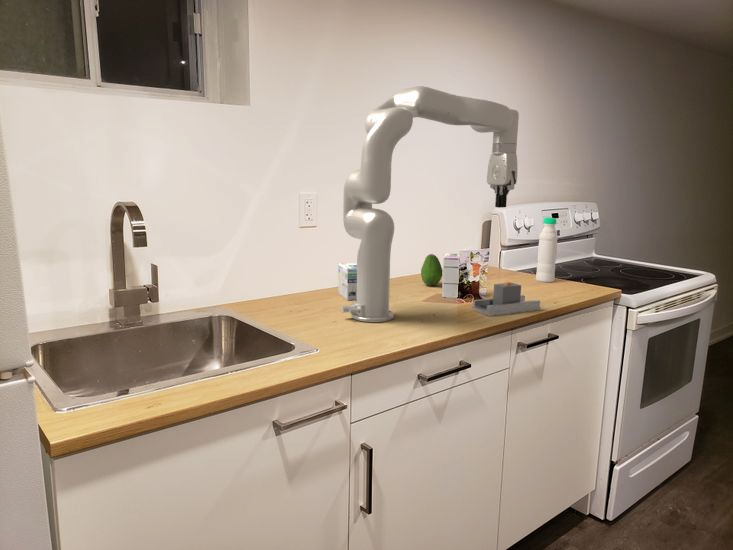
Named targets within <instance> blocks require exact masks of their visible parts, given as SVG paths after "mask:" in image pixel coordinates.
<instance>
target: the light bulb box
mask: <svg viewBox="0 0 733 550" xmlns="http://www.w3.org/2000/svg"><path fill="white" fill-rule="evenodd" d="M337 266H338V269H337V270H338V273H337V274H338V276H337V277H338V283H337V284H338V285H337V287H338V289H337V294H338V293H339V296H341V297H343V299H345V300H346V301H357V262H352V263H351V262H349V263H347V262H346V263H345V262H343V263H341V262H340V263H338V265H337Z"/></svg>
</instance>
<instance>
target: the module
mask: <svg viewBox="0 0 733 550" xmlns="http://www.w3.org/2000/svg"><path fill="white" fill-rule="evenodd" d="M521 294H522V285H521V284H518V283H515V282H510V281H504V283H495V284H493V296H492V297H493V305H496V304H505V303H514V302H520V296H521Z"/></svg>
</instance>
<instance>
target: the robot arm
mask: <svg viewBox="0 0 733 550" xmlns="http://www.w3.org/2000/svg"><path fill="white" fill-rule="evenodd" d="M519 114H520V113H519V111H518V110H517V109H512V108H509V107H508V106H507V105H504V104H502V103H497V102H495V101H492V100H487V99H486V100H485V99H480V98H473V97H467V96H460V95H456V94H452V93H449V92H445V91H441V90H438V89H435V88H432V87H429V86H424V85H423V86H422V85H421V86H413V87H408V88H404V89H401V90H399V91H397V92H396V93H395V94H393V95H392V96H391V97H389V98H387V99H386V100H385V101H384V102H381V104H380V105H378V106H377V107H376V108H374V109H373V110H371V111H370V113H369V114H368V115H367V116H366V119H365V122H364V128H365V131H366V134H367V135H366V136H365V139H364V141H363V144H362V148H361V157H360V160H361V161H360V169H355V170H354V171H352V172H351V173H350V174H348V176H347V177H346V179H345V181H344V185H343V205H342V206H343V215H342V216H343V218H342V220H343V226H344V229H345V232H346V233H347V235H349V236H350V237H351V238H354V239H357V240H360V244H359V248H358V251H357V255H356V256H357V258H356V264H357V300H352V304H350V305H341V306H340V312H341V313H349V314H350V316H351V318H352V319H354V320H355V321H359V322H363V323H381V322H388V321H391V320H393V319H394V318H395V313H394V312H393V311H392V310H390V287H391V284H390V281H391V279H390V277H391V250H392V245H393V244H392V243H393V238H394V234H395V221H394V219H393V217H392V216H391V215H390V214H389V213H388V212H387V211H385V210H383V209H379V208H373V205H379V204H382V203H385V202H386V201H387V200H389V198H390V195H391V188H392V159H393V153H394V149H395V147H396V145H397V144H398V143H399V142H400V141H401V139H403V138H404V137H405V136H406V135H408V133H409V132H410V131H411V129H412V126H413V123H414V121H413V120H414V118H421V119H426V120H428V121H434V122H438V123H442V124H445V125H450V126H470V128H472V130H474V131H475V132H476V133H492V134H493V136H492V149H491V154H490V157H489V160H488V166H487V174H486V184H488V185H489V187H490V189H492V190H493V191H494V195H495V203H494V204H495V208H500V209H501V208H507V200H508V198H507V197H508V195H509V193H510V191H512V190H515V185H517V181H518V155H517V147H518V145H517V144H518V134H519V133H518V131H519V130H518V129H519V117H520V115H519Z"/></svg>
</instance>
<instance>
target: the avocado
mask: <svg viewBox="0 0 733 550" xmlns="http://www.w3.org/2000/svg"><path fill="white" fill-rule="evenodd" d="M420 275H421V280H422V282H423V283H424V284H425V285H426V286H430V287H432V285H433V286H435V285H438V284H439V283H440V282H441V280H442V279H443V266H442V265H441V262H440V260H439V258H438V256H437V255H435V254H433V253H429V254H428V255H426V257H425V259H424V262H423V264H422V266H421V269H420Z"/></svg>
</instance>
